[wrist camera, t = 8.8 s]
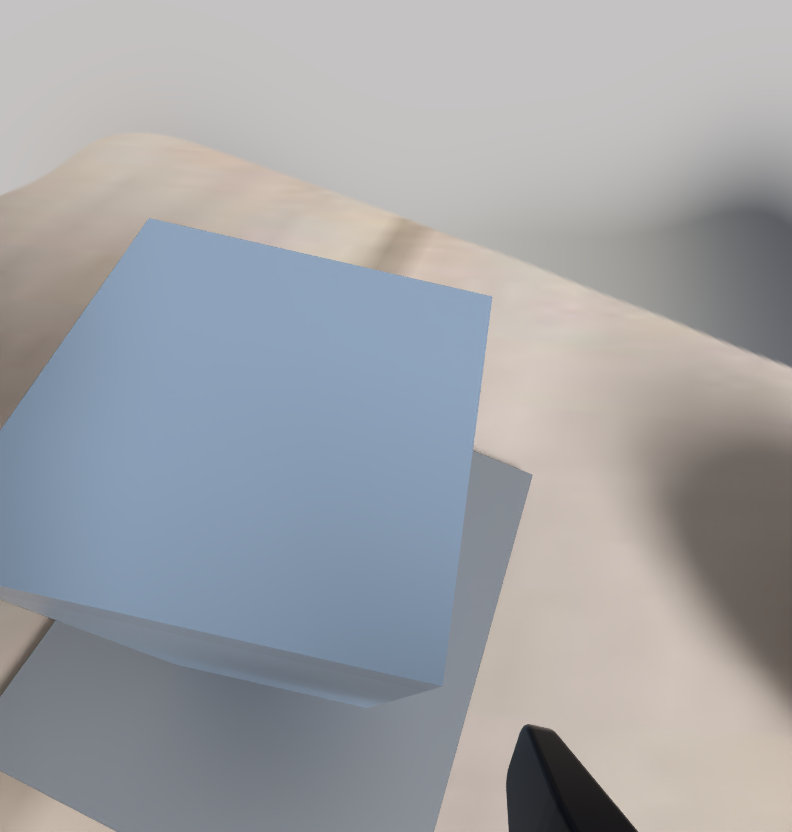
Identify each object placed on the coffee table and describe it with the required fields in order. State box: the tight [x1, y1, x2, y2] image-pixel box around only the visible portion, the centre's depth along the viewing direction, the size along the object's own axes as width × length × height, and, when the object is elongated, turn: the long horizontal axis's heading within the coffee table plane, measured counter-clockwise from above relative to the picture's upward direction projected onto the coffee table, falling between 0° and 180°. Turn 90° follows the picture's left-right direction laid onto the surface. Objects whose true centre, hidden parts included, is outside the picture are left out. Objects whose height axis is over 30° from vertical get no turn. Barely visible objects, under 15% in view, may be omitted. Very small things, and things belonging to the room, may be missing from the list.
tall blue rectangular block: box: [0, 218, 492, 708], centre depth 12 cm, size 8×6×11 cm
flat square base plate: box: [0, 451, 532, 832], centre depth 15 cm, size 14×12×4 cm
